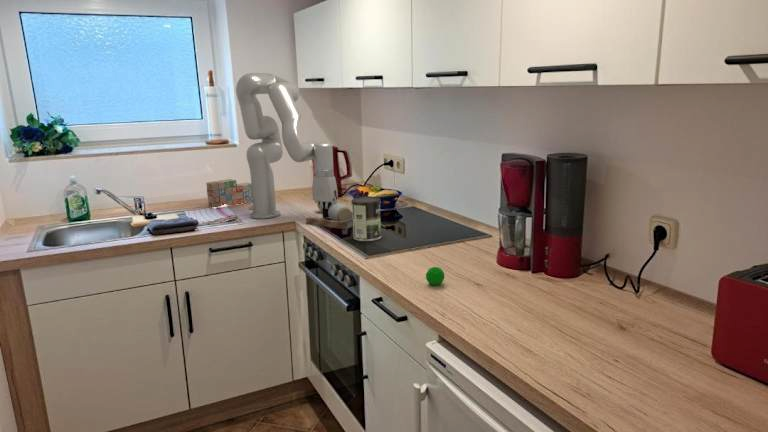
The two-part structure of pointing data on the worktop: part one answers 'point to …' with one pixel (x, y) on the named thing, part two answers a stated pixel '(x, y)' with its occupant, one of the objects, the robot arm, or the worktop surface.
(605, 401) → the worktop surface
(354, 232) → the coffee can
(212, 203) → the stack of blocks
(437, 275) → the green ball
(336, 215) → the light bulb
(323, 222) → the brown flat slab
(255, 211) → the robot arm
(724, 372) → the worktop surface
